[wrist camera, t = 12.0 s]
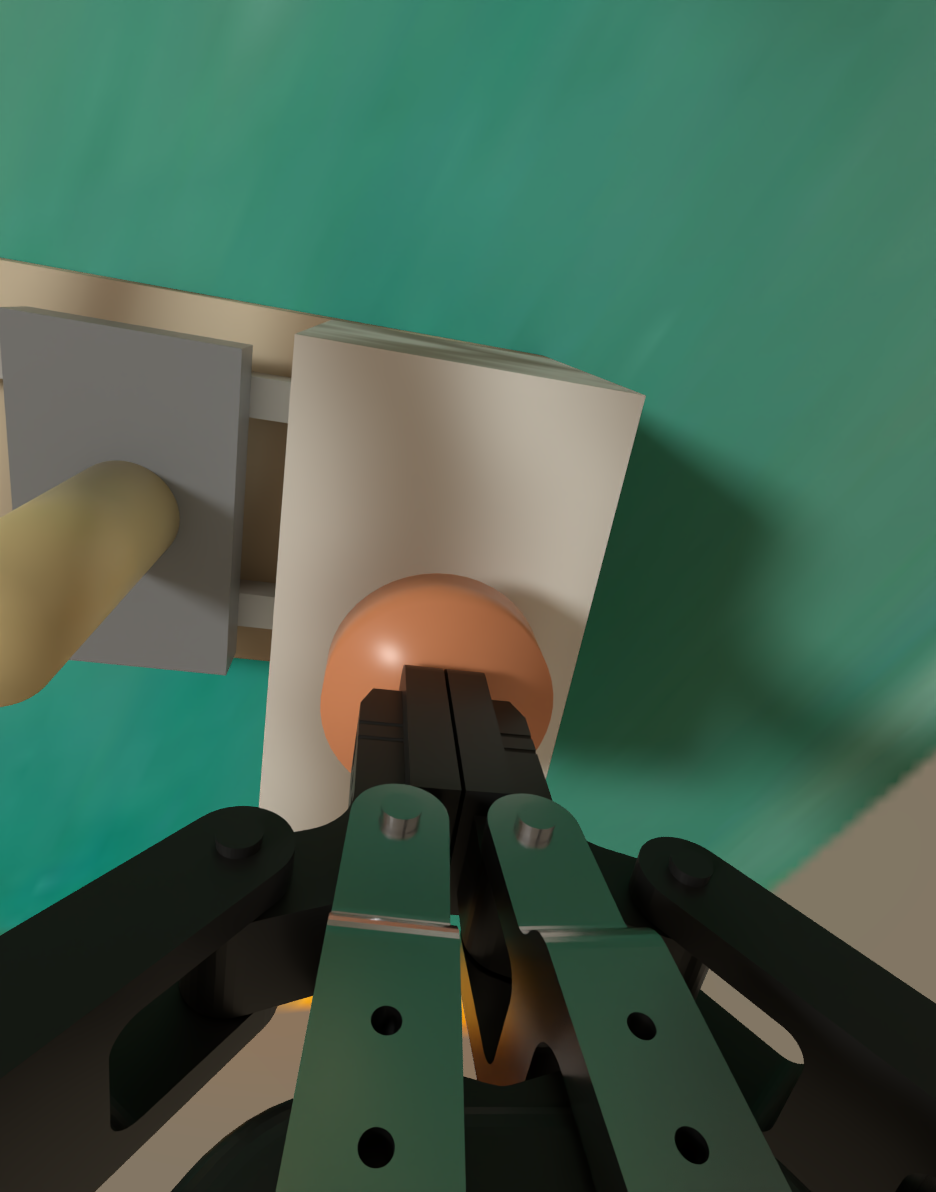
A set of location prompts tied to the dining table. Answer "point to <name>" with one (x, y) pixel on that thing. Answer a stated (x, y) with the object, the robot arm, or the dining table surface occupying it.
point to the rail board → (383, 489)
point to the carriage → (119, 497)
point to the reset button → (432, 650)
